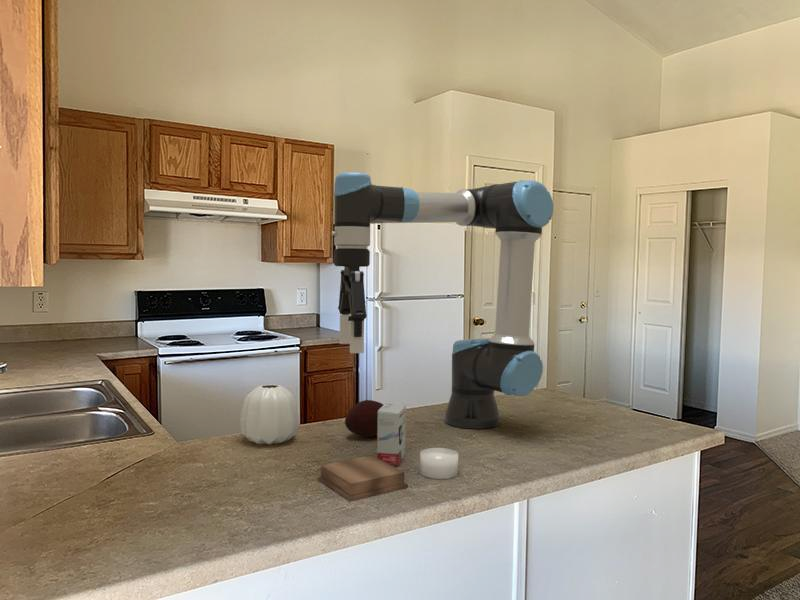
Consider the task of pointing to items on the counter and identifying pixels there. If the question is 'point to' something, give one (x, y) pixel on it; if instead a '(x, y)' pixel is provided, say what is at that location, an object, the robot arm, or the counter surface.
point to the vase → (269, 415)
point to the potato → (363, 418)
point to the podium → (362, 477)
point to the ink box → (391, 433)
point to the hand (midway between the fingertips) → (351, 348)
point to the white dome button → (439, 463)
